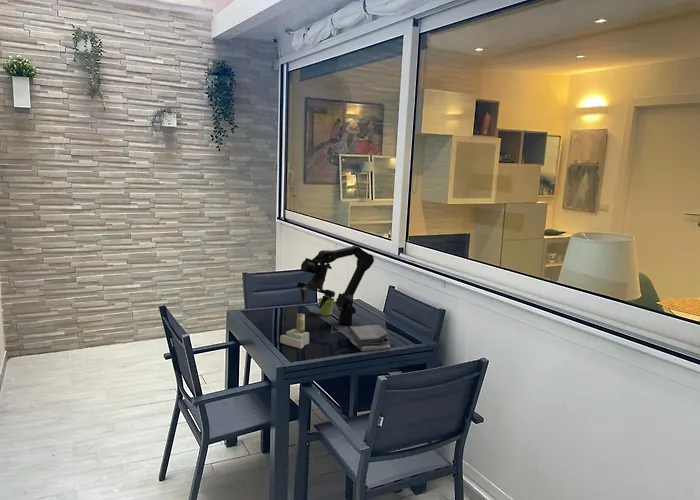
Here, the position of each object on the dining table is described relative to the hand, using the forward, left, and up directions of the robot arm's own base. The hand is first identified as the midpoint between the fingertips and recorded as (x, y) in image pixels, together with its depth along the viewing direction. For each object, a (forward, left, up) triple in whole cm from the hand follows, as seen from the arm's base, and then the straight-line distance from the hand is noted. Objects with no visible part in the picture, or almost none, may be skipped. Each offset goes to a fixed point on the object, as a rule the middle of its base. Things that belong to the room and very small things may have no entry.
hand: (311, 306), depth 248 cm
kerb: (+3, +24, -12) cm, 27 cm away
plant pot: (-1, -29, -12) cm, 31 cm away
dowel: (0, +19, -12) cm, 22 cm away
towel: (-31, +14, -13) cm, 36 cm away
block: (+1, +20, -12) cm, 24 cm away
